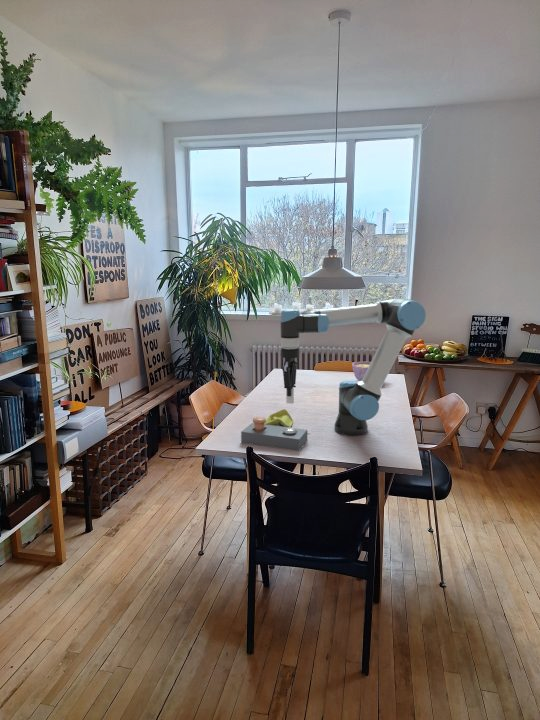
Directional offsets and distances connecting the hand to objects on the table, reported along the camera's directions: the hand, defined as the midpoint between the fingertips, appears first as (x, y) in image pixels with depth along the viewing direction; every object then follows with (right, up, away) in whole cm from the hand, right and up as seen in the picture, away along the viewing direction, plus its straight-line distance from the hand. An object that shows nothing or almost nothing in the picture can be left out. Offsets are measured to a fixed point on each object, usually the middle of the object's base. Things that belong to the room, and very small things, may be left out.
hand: (290, 402), depth 194 cm
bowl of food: (+55, +3, +108) cm, 121 cm away
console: (-6, -17, +6) cm, 19 cm away
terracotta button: (-13, -13, +8) cm, 20 cm away
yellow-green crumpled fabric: (-5, -14, +25) cm, 29 cm away
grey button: (0, -17, +3) cm, 18 cm away
